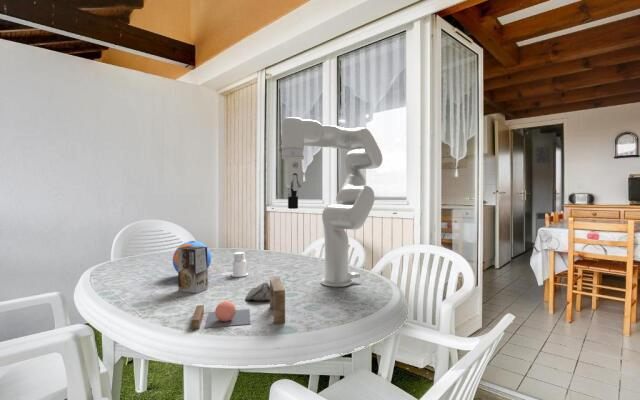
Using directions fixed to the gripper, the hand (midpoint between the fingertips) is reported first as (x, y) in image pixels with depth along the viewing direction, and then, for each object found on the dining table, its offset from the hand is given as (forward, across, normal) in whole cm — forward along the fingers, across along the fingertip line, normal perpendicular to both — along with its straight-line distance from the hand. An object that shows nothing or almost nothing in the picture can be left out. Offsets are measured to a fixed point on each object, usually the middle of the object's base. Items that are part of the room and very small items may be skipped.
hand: (293, 208), depth 118 cm
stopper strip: (+31, -14, +30) cm, 45 cm away
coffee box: (+31, +19, +35) cm, 51 cm away
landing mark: (+31, -14, +21) cm, 40 cm away
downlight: (+31, +38, +18) cm, 52 cm away
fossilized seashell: (+32, +3, +11) cm, 34 cm away
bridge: (+31, -14, +7) cm, 35 cm away
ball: (+28, -16, +22) cm, 39 cm away
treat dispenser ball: (+31, +40, +38) cm, 63 cm away
